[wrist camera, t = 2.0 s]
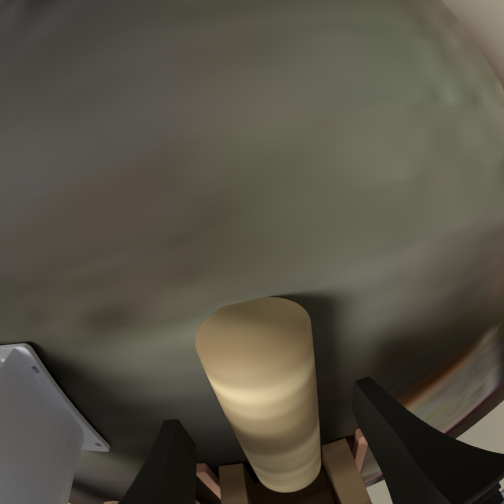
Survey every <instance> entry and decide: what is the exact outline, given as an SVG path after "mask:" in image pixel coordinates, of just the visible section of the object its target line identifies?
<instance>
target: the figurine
mask: <svg viewBox="0 0 504 504" xmlns="http://www.w3.org/2000/svg"><path fill="white" fill-rule="evenodd" d="M104 504H118V501H108V502H104Z"/></svg>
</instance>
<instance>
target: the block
mask: <svg viewBox="0 0 504 504" xmlns="http://www.w3.org/2000/svg"><path fill="white" fill-rule="evenodd" d="M322 456H323V468H321V469H320V472H319V474H318V476H317V477H316V479H315V480H314V481H313V482H312V483H311V484H309V485H308V486H307V487H305V488H303V489H301V490H298V491H294V492H277V491H274V490H271V489H269V488H267V487H266V486H265V485H263V484H262V483H261V482H259V483H254V481H253V480H252V478H251V477H250V475H249V473H248V472H247V470H246V468H245V467H244V465H243V463H240V464H233V465H225V466H219V480H220V493H221V504H372V503H371V500H370V497H369V495H368V493H367V490H366V487H365V485H364V482H363V480H362V477H361V475H360V472H359V470H358V467H357V465H356V463H355V460H354V458H353V455H352V453H351V450H350V448H349V445H348V443H347V441H346V438H344V439H341V440H338V441H335V442H332V443H329V444H325V445H322Z"/></svg>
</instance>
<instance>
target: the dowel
mask: <svg viewBox="0 0 504 504" xmlns="http://www.w3.org/2000/svg"><path fill="white" fill-rule="evenodd" d="M195 347H196V350H197V353H198V355H199V358H200V360H201V362H202V365H203V367H204V369H205V372H206V374H207V376H208V378H209V381H210V383H211V385H212V387H213V390H214V392H215V394H216V396H217V398H218V401H219V403H220V405H221V407H222V409H223V411H224V413H225V415H226V417H227V419H228V421H229V423H230V426H231V428H232V430H233V432H234V434H235V436H236V437H237V439H238V441H239V443H240V445H241V447H242V449H243V451H244V453H245V455H246V457H247V458H248V460H249V462H250V464H251V466H252V468H253V469H254V471H255V473H256V475H257V477H258V478H259V480H260V481H261V483H262V484H263V485H265V486H266V487H267V488H269V489H271V490H274V491H277V492H294V491H298V490H301V489H303V488H305V487H307V486H308V485H309V484H311V483H312V482H313V481H314V480H315V479H316V477H317V476H318V474H319V472H320V468H321V450H320V429H319V411H318V396H317V383H316V370H315V359H314V348H313V337H312V327H311V320H310V317H309V314H308V313H307V311H306V310H305V309H304V308H303V307H302V306H300V305H299V304H297V303H295V302H293V301H290V300H287V299H284V298H278V297H264V298H260V299H255V300H251V301H246V302H242V303H238V304H233V305H228V306H225V307H223V308H221V309H220V310H218V311H216V312H215V313H213V314H212V315H211V316H209V317H208V318H207V319H206V320H205V321H204V322H203V323H202V325H201V326H200V328H199V329H198V331H197V334H196V337H195Z"/></svg>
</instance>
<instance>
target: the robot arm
mask: <svg viewBox="0 0 504 504" xmlns="http://www.w3.org/2000/svg"><path fill="white" fill-rule="evenodd" d="M353 411H354V414H355V417H356V420H357V422H358V425H359V428H360V430H361V432H362V434H363V436H364V438H365V440H366V442H367V444H368V446H369V448H370V449H371V451H372V453H373V455H374V457H375V459H376V461H377V463H378V465H379V467H380V469H381V471H382V473H383V476H384V479H385V482H386V484H387V487H388V490H389V493H390V496H391V499H392V502H393V504H504V489H503V490H502V491H499V489H500V488H501V485H500V484H499V482H500V480H502V479H503V478H504V454H501V453H496V452H491V451H487V450H484V449H480V448H477V447H474V446H471V445H468V444H466V443H464V442H461V441H459V440H456V439H454V438H452V437H450V436H448V435H446V434H444V433H442V432H440V431H438V430H437V429H435V428H433V427H432V426H430V425H428V424H427V423H425V422H424V421H422V420H421V419H419V418H418V417H416V416H415V415H414V414H412V413H411V412H410V411H408V410H407V409H406V408H405V407H403V406H402V405H401V404H400V403H398V402H397V401H396V400H395V399H394V398H392V397H391V396H390V395H389V394H388V393H387V392H386V391H385V390H384V389H382V388H381V387H380V386H379V385H378V384H377V383H376V382H375V381H374V380H373V379H372V378H371V377H366V378H363V379H360V380H357V381H355V389H354V402H353ZM81 450H88V451H100V452H108V451H109V450H110V446H109V444H108V443H107V442H106V441H105V440H104V439H103V438H102V437H101V436H100V435H99V434H98V433H97V432H96V431H95V430H94V428H93V427H92V426H91V425H90V424H89V423H88V422H87V421H86V420H85V418H84V417H83V416H82V415H81V414H80V413H79V411H78V410H77V409H76V408H75V407H74V405H73V404H72V403H71V402H70V400H69V399H68V398H67V397H66V395H65V394H64V393H63V391H62V390H61V389H60V387H59V386H58V385H57V383H56V382H55V381H54V379H53V378H52V376H51V375H50V374H49V372H48V371H47V369H46V368H45V366H44V365H43V363H42V362H41V360H40V359H39V357H38V356H37V354H36V353H35V351H34V350H33V348H32V347H31V346H30V345H28V344H25V343H22V344H12V345H1V346H0V504H68V500H69V496H70V491H71V487H72V483H73V478H74V474H75V470H76V467H77V463H78V459H79V455H80V452H81ZM196 472H197V462H196V451H195V443H194V442H193V440H192V439H191V437H190V436H189V435H188V433H187V432H186V430H185V429H184V427H183V426H182V424H181V423H180V421H179V420H178V419H175V420H164V421H163V423H162V425H161V428H160V430H159V432H158V435H157V437H156V439H155V441H154V443H153V445H152V448H151V450H150V452H149V454H148V456H147V458H146V460H145V462H144V464H143V466H142V467H141V469H140V471H139V473H138V474H137V476H136V478H135V480H134V481H133V483H132V484H131V486H130V487H129V489H128V490H127V492H126V493H125V495H124V496H123V497H122V499H121V500H120V501H119V502H118V504H196Z"/></svg>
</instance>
